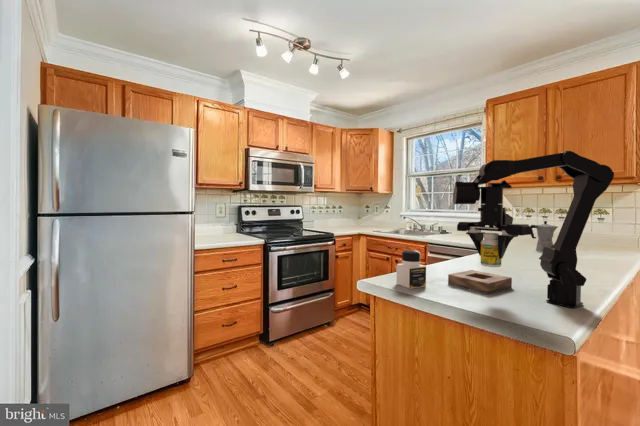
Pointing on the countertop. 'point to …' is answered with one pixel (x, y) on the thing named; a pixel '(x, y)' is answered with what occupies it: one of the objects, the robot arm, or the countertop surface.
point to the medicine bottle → (411, 270)
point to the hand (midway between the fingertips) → (490, 257)
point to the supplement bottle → (490, 250)
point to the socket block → (480, 281)
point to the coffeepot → (543, 235)
